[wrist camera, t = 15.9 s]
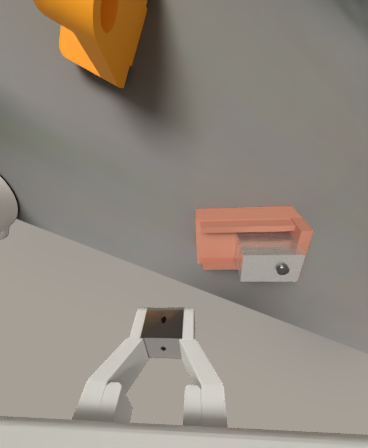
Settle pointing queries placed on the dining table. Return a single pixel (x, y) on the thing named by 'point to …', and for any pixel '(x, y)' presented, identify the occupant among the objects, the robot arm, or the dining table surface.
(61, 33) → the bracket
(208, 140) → the dining table surface
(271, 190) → the dining table surface
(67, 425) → the robot arm
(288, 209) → the pink boxy piece
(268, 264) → the block with knob
